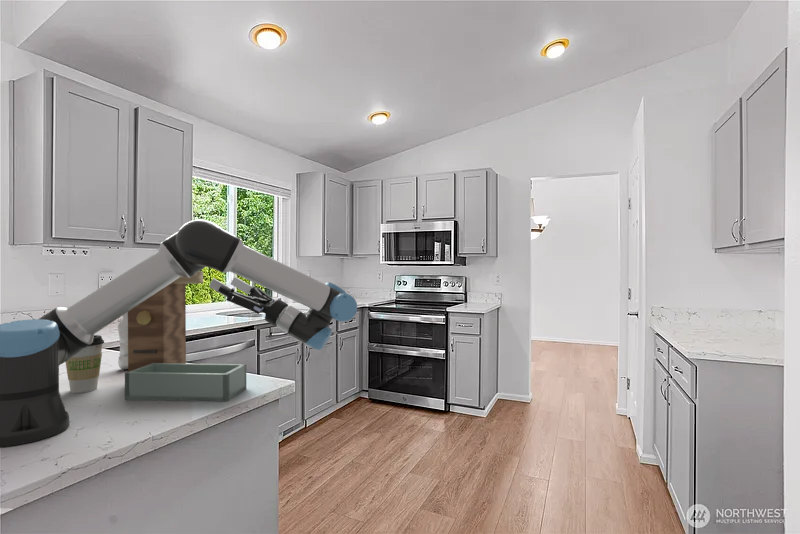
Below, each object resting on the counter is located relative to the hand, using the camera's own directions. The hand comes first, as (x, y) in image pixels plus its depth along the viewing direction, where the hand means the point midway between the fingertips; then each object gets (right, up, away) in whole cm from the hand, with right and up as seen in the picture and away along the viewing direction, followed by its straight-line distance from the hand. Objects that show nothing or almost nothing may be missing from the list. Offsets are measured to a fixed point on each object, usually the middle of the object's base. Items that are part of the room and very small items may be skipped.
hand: (222, 281), depth 135 cm
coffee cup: (-37, -31, -8) cm, 49 cm away
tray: (-5, -31, -12) cm, 33 cm away
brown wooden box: (-21, -31, +3) cm, 37 cm away
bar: (-17, -1, +2) cm, 17 cm away
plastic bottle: (-39, -31, +17) cm, 53 cm away
